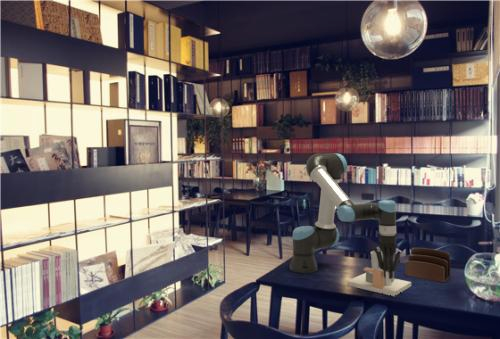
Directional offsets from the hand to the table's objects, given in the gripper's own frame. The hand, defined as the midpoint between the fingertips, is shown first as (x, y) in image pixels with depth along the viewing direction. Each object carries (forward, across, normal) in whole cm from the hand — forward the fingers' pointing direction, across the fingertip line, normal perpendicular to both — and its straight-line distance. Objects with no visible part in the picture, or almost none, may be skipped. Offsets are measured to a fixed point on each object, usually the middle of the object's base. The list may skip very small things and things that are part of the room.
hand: (388, 285), depth 198 cm
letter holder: (+4, +4, +37) cm, 38 cm away
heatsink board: (+4, -8, +7) cm, 12 cm away
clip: (+2, -7, 0) cm, 7 cm away
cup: (+4, -16, +23) cm, 28 cm away
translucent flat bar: (-3, -8, +8) cm, 12 cm away
